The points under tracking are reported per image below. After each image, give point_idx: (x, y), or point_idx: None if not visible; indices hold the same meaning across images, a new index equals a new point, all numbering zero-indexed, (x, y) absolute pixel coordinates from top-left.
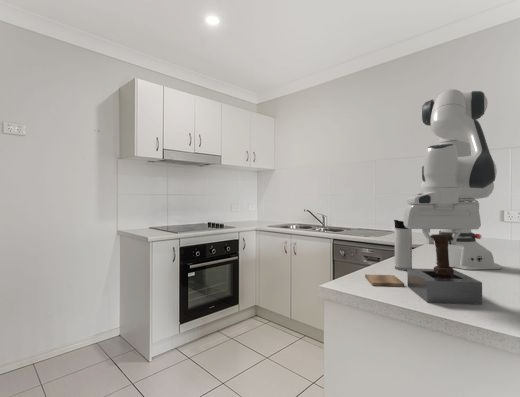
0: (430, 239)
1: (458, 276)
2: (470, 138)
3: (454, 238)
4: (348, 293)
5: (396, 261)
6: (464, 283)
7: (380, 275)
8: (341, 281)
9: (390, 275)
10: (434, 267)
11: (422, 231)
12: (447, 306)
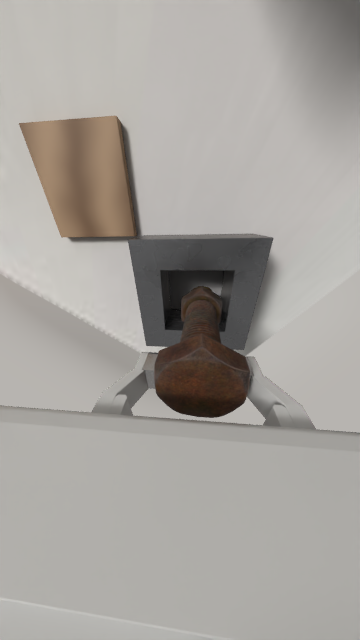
0: (146, 384)
1: (227, 315)
2: None
3: (247, 396)
4: (36, 294)
5: None
6: None
7: (70, 131)
8: None
9: (104, 123)
10: (181, 306)
11: (101, 398)
12: None
